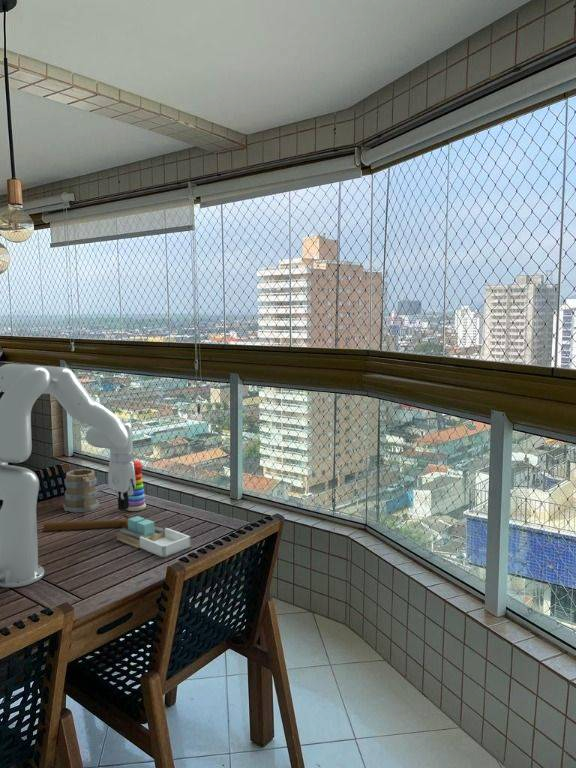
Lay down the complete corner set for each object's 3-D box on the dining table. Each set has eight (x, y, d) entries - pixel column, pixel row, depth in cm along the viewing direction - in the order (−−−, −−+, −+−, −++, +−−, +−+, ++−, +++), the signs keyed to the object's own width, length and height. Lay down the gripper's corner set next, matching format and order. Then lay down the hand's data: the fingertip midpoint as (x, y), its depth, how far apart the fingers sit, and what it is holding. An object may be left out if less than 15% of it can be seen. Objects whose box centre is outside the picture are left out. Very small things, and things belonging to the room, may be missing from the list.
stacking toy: (142, 512, 210) (142, 464, 208) (122, 511, 210) (121, 463, 208) (148, 505, 218) (147, 459, 216) (128, 505, 218) (127, 458, 216)
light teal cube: (144, 537, 180) (144, 525, 180) (137, 534, 183) (137, 522, 182) (154, 533, 183) (154, 521, 183) (147, 530, 186) (146, 519, 185)
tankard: (62, 504, 218) (61, 467, 216) (95, 500, 224) (94, 464, 222) (68, 520, 200) (67, 480, 199) (104, 515, 206) (103, 476, 205)
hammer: (41, 536, 186) (132, 532, 191) (40, 527, 186) (132, 523, 190) (50, 524, 197) (136, 521, 202) (50, 515, 197) (136, 512, 202)
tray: (163, 557, 169) (163, 546, 169) (139, 547, 176) (139, 537, 176) (190, 546, 177) (190, 536, 177) (166, 537, 185) (166, 527, 185)
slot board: (137, 547, 176) (137, 538, 176) (117, 539, 183) (116, 530, 183) (167, 537, 186) (166, 528, 185) (146, 529, 192) (146, 521, 192)
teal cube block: (135, 533, 183) (135, 521, 183) (128, 530, 186) (127, 519, 185) (145, 530, 186) (145, 518, 186) (137, 527, 189) (137, 516, 188)
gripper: (99, 456, 190) (101, 507, 193) (125, 463, 181) (127, 516, 183) (118, 452, 196) (120, 501, 198) (144, 458, 187) (145, 510, 189)
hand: (123, 508), depth 191 cm, fingers closed
